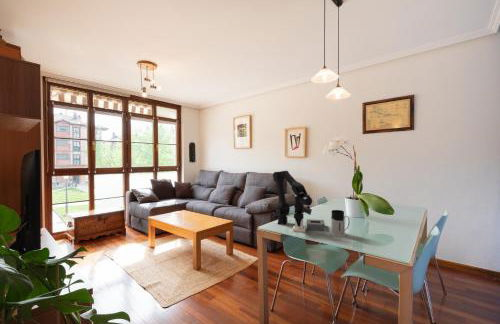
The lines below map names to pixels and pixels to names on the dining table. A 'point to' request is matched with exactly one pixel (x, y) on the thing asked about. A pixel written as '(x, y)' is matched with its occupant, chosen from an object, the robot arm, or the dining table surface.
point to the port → (315, 224)
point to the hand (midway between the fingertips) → (299, 225)
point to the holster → (299, 229)
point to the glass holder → (338, 223)
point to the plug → (300, 224)
